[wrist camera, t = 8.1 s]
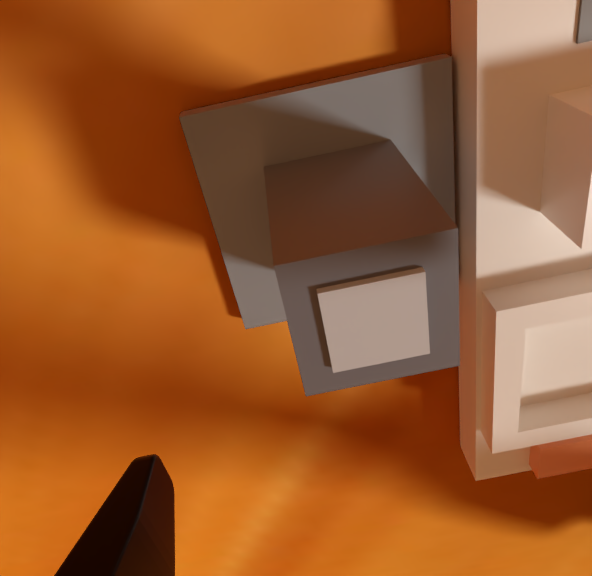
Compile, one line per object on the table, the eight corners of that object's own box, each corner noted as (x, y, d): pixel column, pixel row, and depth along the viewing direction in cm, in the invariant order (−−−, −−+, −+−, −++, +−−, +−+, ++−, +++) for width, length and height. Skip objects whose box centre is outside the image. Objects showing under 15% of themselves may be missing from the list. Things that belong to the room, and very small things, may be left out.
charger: (400, 250, 18) (462, 370, 13) (288, 273, 18) (306, 402, 13) (390, 139, 16) (461, 231, 11) (263, 166, 16) (274, 270, 11)
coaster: (451, 276, 20) (456, 285, 19) (245, 319, 20) (245, 329, 20) (444, 53, 15) (451, 56, 15) (181, 111, 16) (179, 117, 15)
